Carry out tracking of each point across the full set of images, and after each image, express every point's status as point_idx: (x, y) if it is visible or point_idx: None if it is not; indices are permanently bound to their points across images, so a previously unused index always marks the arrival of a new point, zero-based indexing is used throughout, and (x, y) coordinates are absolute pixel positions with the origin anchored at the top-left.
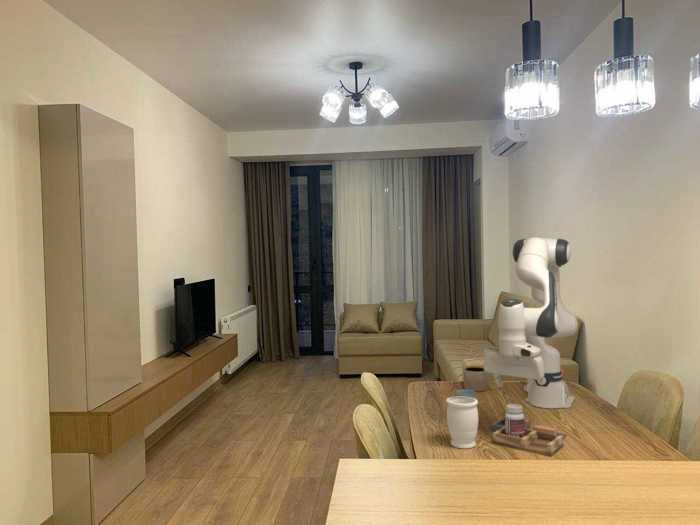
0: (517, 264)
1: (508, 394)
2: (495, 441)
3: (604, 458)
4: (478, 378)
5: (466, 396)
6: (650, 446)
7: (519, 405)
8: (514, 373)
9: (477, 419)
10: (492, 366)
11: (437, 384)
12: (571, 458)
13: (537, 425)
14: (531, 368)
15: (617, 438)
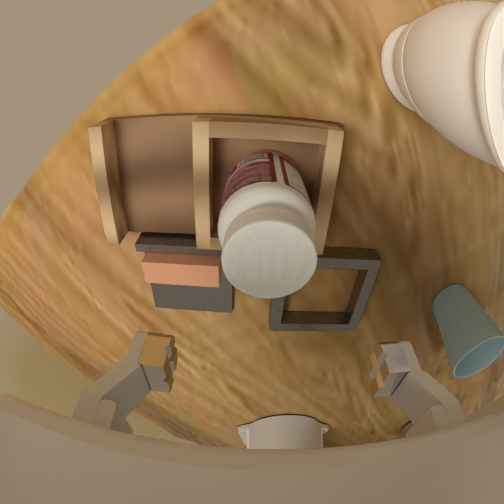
0: None
1: (363, 431)
2: (324, 122)
3: (22, 202)
4: None
5: (479, 337)
6: (25, 312)
7: (244, 282)
8: (235, 482)
9: (421, 63)
10: (496, 476)
11: (478, 404)
12: (63, 147)
13: (210, 284)
14: (14, 501)
15: (78, 330)
